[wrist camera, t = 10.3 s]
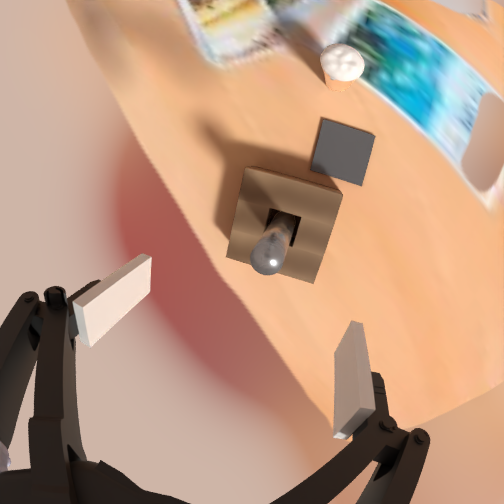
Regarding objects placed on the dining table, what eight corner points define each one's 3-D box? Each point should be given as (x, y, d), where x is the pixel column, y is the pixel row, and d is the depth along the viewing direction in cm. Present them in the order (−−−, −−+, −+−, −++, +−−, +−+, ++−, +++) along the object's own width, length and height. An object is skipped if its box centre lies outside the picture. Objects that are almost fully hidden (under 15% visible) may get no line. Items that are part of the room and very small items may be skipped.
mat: (323, 119, 31) (323, 119, 31) (374, 136, 30) (375, 136, 30) (310, 169, 34) (310, 170, 33) (361, 185, 33) (361, 186, 33)
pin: (276, 208, 37) (254, 239, 24) (298, 214, 36) (287, 249, 23) (271, 228, 38) (246, 269, 25) (292, 234, 37) (278, 279, 25)
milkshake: (311, 91, 30) (309, 68, 21) (328, 60, 28) (331, 30, 19) (342, 107, 30) (352, 90, 21) (359, 76, 28) (373, 50, 19)
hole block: (252, 166, 35) (245, 167, 32) (340, 190, 34) (343, 195, 30) (234, 247, 40) (226, 257, 36) (313, 271, 38) (313, 283, 35)
